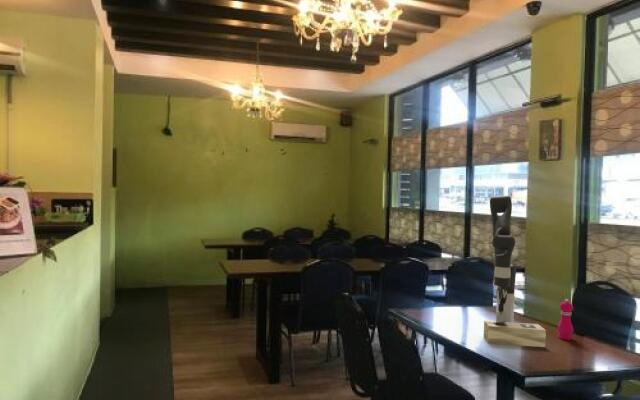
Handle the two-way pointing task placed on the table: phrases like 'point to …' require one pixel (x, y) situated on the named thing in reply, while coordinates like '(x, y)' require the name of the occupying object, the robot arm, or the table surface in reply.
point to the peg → (500, 318)
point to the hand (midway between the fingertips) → (500, 311)
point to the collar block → (514, 334)
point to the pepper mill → (565, 321)
